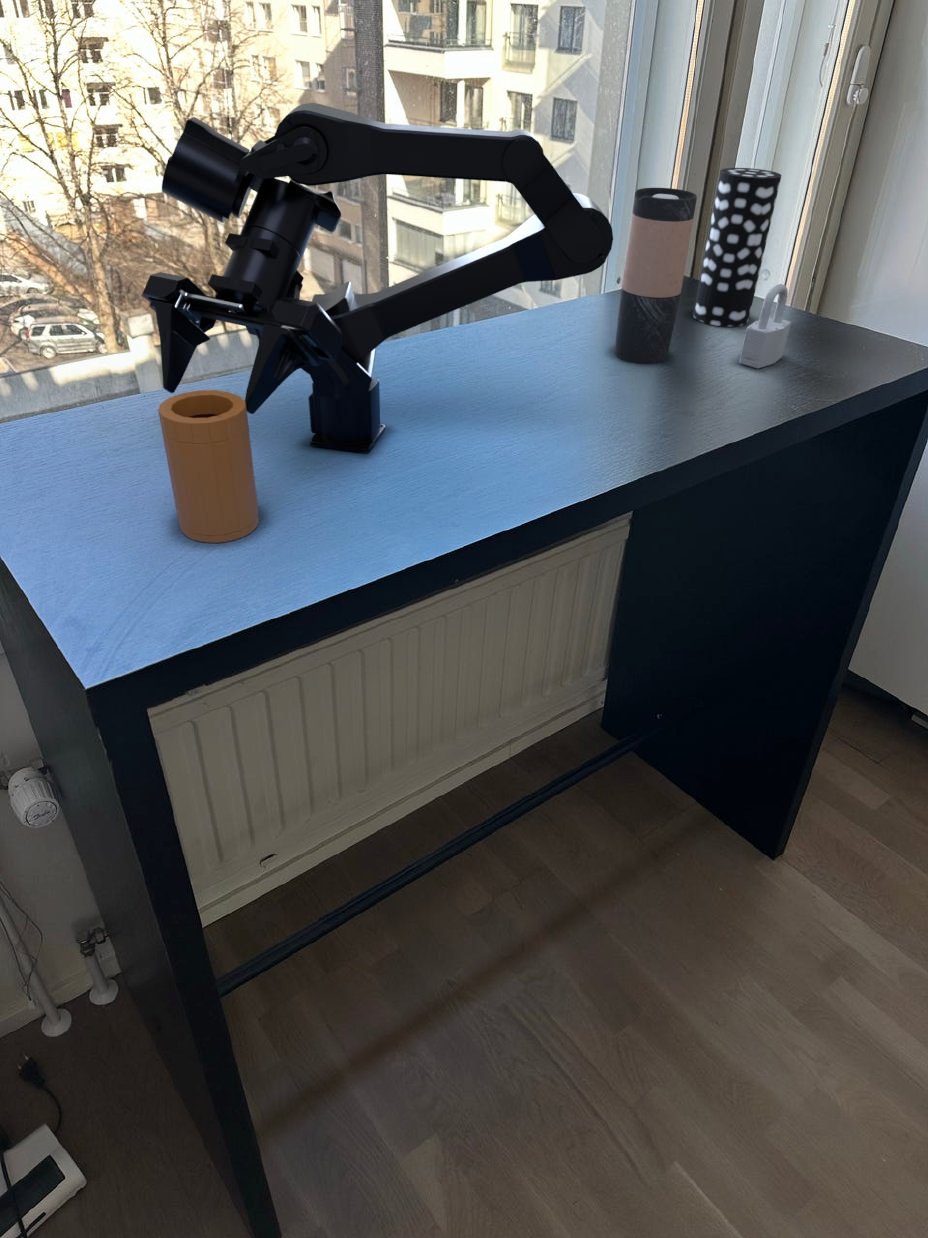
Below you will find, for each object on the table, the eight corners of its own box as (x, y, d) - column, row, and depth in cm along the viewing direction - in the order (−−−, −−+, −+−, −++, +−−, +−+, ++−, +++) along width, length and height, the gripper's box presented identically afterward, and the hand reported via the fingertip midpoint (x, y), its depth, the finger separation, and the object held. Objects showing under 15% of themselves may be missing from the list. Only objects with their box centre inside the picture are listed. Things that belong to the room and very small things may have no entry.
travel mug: (677, 353, 118) (707, 192, 106) (656, 369, 113) (684, 202, 101) (626, 341, 121) (649, 184, 109) (602, 356, 116) (624, 193, 104)
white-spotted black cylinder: (752, 315, 134) (785, 171, 122) (742, 330, 127) (776, 180, 116) (699, 306, 136) (726, 165, 125) (687, 320, 130) (714, 173, 118)
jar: (270, 510, 79) (258, 395, 72) (239, 548, 73) (223, 427, 67) (202, 500, 80) (183, 385, 73) (165, 536, 75) (142, 416, 68)
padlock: (761, 370, 114) (780, 292, 108) (734, 362, 116) (751, 285, 110) (786, 358, 118) (806, 282, 112) (759, 351, 120) (777, 276, 114)
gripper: (392, 310, 83) (333, 459, 81) (238, 280, 90) (182, 417, 88) (341, 238, 73) (273, 407, 71) (172, 211, 79) (106, 365, 78)
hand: (207, 401), depth 77 cm, fingers open, 9 cm apart
